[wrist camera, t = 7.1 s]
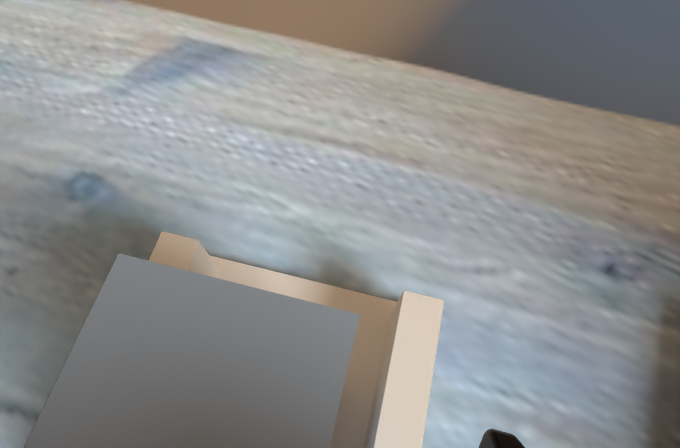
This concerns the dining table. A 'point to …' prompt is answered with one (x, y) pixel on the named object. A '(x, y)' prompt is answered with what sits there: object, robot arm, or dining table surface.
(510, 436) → the robot arm
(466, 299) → the dining table surface
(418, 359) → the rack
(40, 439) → the grey rectangular prism
